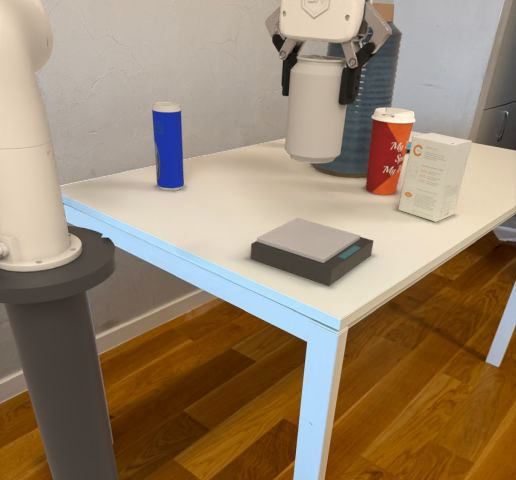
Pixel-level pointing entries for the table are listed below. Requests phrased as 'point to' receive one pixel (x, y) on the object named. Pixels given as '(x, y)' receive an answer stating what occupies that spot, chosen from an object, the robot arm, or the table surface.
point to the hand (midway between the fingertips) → (317, 98)
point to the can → (315, 109)
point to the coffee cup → (388, 148)
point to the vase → (366, 100)
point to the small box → (434, 175)
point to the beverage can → (168, 145)
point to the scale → (311, 250)
